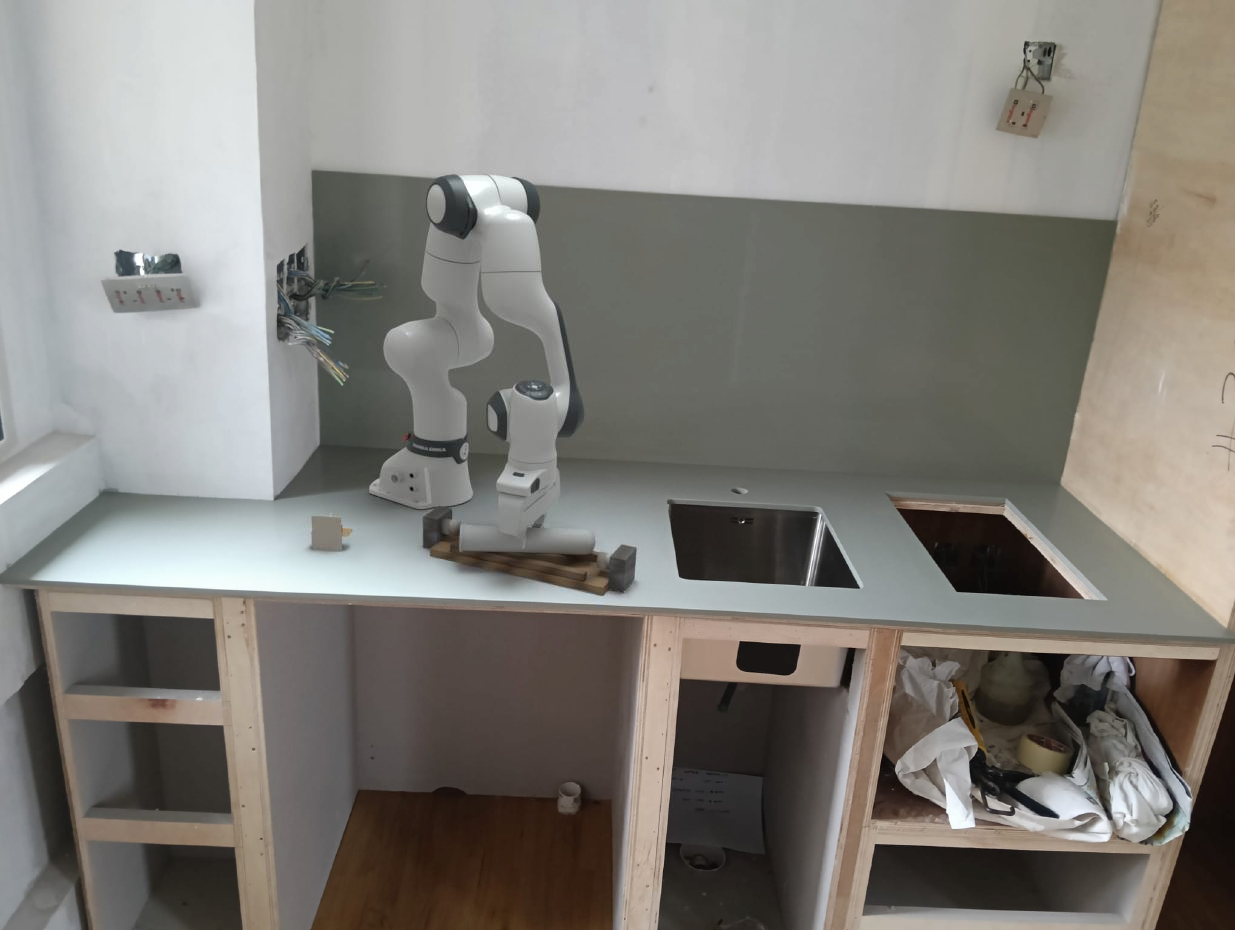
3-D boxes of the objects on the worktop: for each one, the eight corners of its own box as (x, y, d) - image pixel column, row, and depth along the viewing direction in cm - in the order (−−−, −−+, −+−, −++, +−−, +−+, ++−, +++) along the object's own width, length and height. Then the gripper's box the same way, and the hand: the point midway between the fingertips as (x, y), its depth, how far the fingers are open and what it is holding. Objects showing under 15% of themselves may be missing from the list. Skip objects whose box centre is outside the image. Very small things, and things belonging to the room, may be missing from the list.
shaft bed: (416, 552, 188) (415, 521, 186) (445, 531, 198) (445, 501, 196) (618, 598, 176) (620, 565, 173) (638, 574, 185) (641, 542, 183)
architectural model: (317, 544, 190) (315, 508, 187) (353, 546, 190) (352, 510, 187) (311, 551, 187) (310, 515, 184) (348, 554, 187) (347, 517, 184)
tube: (595, 526, 187) (461, 520, 184) (597, 531, 182) (459, 525, 179) (593, 553, 188) (460, 548, 185) (596, 559, 182) (458, 554, 180)
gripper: (539, 451, 191) (537, 517, 195) (491, 485, 172) (490, 557, 177) (569, 456, 189) (566, 523, 193) (524, 491, 170) (522, 564, 175)
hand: (529, 539), depth 185 cm, fingers open, 5 cm apart
